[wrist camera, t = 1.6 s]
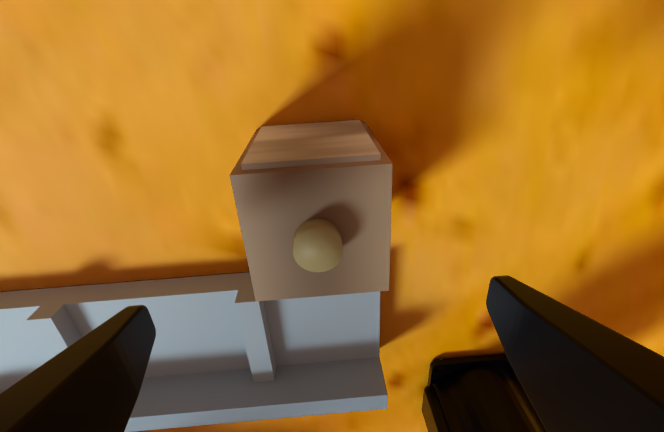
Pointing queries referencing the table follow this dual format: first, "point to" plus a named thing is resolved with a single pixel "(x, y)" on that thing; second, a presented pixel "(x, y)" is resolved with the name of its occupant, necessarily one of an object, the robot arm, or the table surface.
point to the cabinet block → (315, 210)
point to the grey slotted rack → (213, 347)
